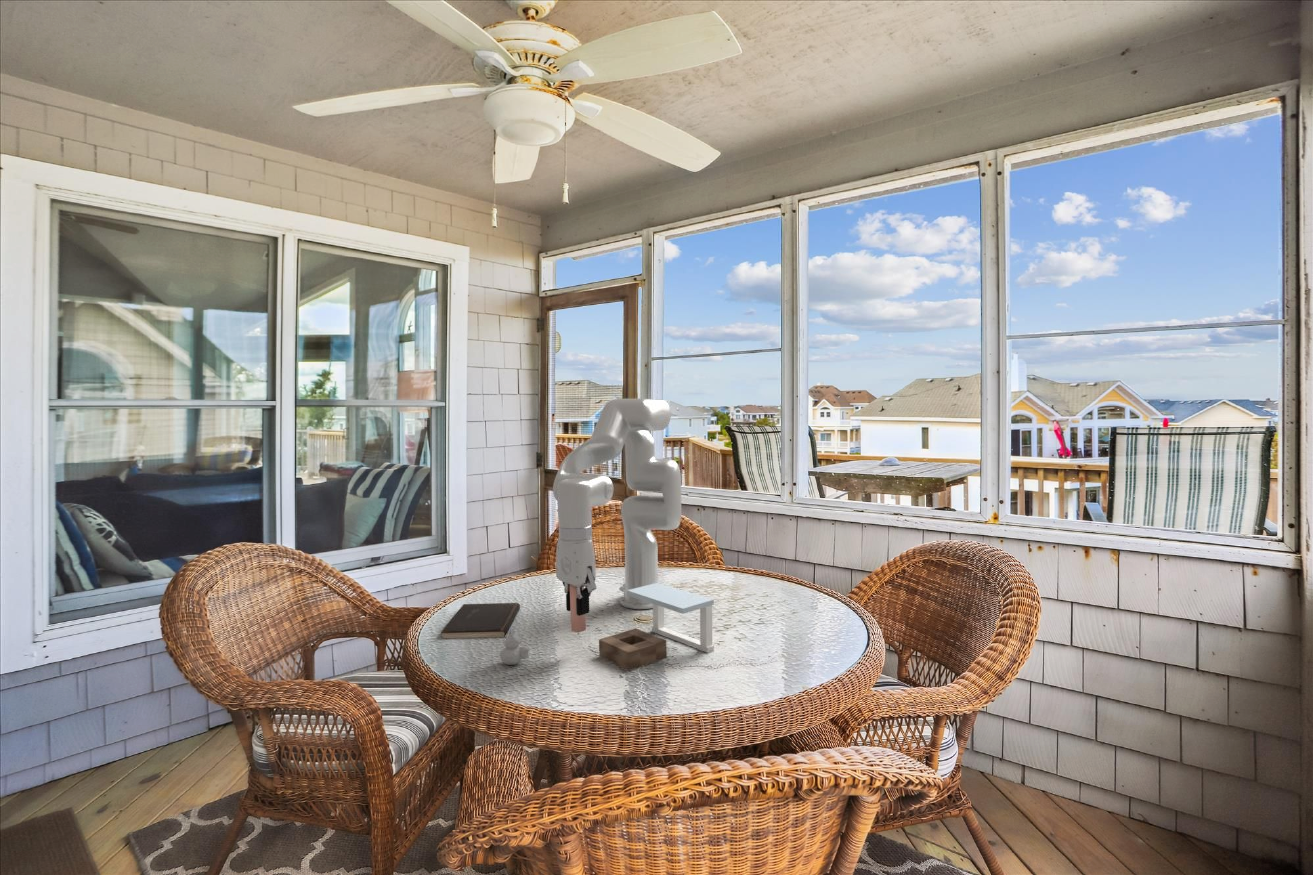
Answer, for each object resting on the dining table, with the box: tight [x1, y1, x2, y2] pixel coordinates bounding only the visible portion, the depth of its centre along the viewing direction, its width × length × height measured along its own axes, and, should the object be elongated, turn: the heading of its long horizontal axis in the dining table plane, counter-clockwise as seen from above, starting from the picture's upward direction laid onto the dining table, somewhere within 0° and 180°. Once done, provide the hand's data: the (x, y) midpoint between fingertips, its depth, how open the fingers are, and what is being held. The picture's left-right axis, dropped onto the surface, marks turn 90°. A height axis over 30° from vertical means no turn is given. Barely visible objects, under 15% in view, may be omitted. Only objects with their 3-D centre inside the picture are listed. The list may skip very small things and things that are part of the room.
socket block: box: [598, 628, 668, 671], centre depth 151 cm, size 11×11×4 cm
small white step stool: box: [627, 582, 715, 654], centre depth 158 cm, size 20×10×12 cm, turn 41°
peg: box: [569, 585, 587, 633], centre depth 151 cm, size 3×3×12 cm
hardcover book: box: [440, 602, 521, 639], centre depth 176 cm, size 16×23×2 cm
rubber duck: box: [499, 628, 530, 666], centre depth 148 cm, size 5×7×8 cm
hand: (577, 611), depth 151 cm, fingers closed on peg, 3 cm apart
